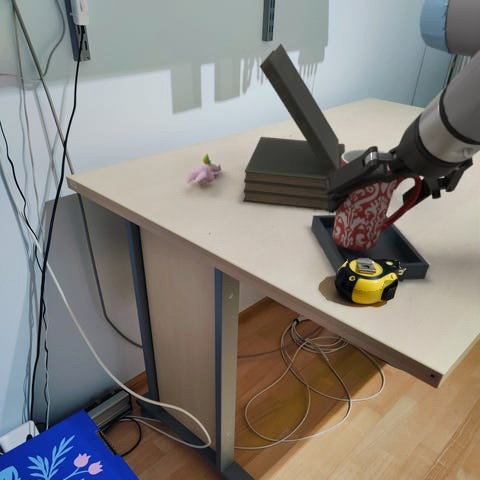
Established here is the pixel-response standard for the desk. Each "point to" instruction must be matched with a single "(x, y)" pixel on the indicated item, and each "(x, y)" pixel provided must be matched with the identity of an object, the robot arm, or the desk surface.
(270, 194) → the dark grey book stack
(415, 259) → the tray
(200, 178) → the pink toy figure
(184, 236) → the desk surface
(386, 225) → the mug
